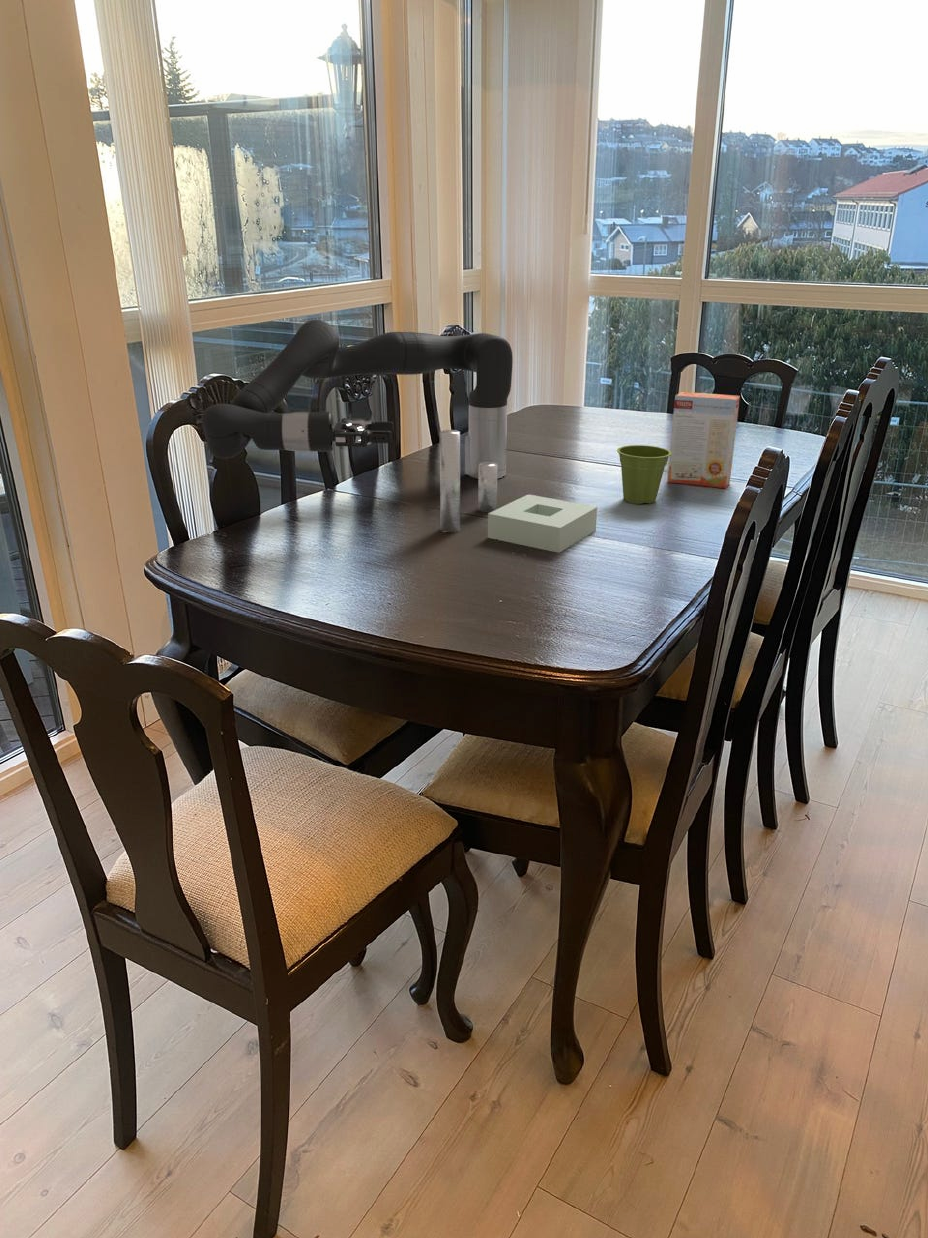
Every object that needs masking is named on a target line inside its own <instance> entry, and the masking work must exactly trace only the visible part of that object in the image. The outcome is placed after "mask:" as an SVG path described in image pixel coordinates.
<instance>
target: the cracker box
mask: <svg viewBox="0 0 928 1238" xmlns="http://www.w3.org/2000/svg"><path fill="white" fill-rule="evenodd" d="M740 398H741V396H740V395H733V394H732V395H731V394H719V393H705V392H691V391H690V392H689V391H688V392H687V391H680V392H679V393H677V394H675V397H674V404H673V405H674V407H673V414H672V416H673V417H672V426H671V435H670V436H671V438H670V446H669V447H670V449H669V451H671V453H672V454H671V455H670V456H669V457H668V469H667V470H668V471H667V482H668V483H673V484H674V483H675V484H682V485H692V486H701V487H710V488H718V489H726V488H727V487H728V485H729V484H730V483H731V474H732V467H733V459H734V458H733V457H734V452H735V451H734V450H735V441H736V434H737V433H736V432H737V425H738V416H739V407H740Z"/></svg>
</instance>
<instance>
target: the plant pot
mask: <svg viewBox="0 0 928 1238" xmlns="http://www.w3.org/2000/svg"><path fill="white" fill-rule="evenodd" d="M616 451H617V453H618V455H619V456H618V457H619V463H620V468H621V481H622V496H623V500H625V502H628V503H630V504H631V503H632V504H635V505H642V504H645V503H646V504H649V505H650V504H652V503H654V502H655V503H656V500H657V497H658V495H659V494H658V493H659V490H660V486H661V484H662V483H661V482H662V479H663V475H664V472H665V467H666V465H667V463H668V462H669V457H670V455H671V454H672V453H671V451H670V449H667V448H664V447H660V446H654V445H643V444H635V445H634V444H632V445H631V444H630V445H623V446H620V447H617V449H616Z"/></svg>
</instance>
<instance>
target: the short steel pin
mask: <svg viewBox="0 0 928 1238" xmlns="http://www.w3.org/2000/svg"><path fill="white" fill-rule="evenodd" d="M477 487H478V494H477V495H478V498H477V499H478V500H477V501H478V503H477V505H478V507H477V508H478V511H479V512H482V513H490V512H492V511H495V510H497V509H498V508H497V504H498V502H497V501H498V478H497V463H493V462H482V463H479V479H478V486H477Z"/></svg>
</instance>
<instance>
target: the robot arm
mask: <svg viewBox="0 0 928 1238" xmlns="http://www.w3.org/2000/svg"><path fill="white" fill-rule="evenodd" d="M513 360H514V359H513V350H512V347H511V344H510V343H509V342H508V340H507V339H506V338H504V337H503V336H498V335H495V334H490V333H486V332H485V333H484V332H480V333H470V334H463V335H453V336H452V335H451V336H449V335H439V334H432V333H426V332H415V331H390V332H385V333H381V334H379V335H377V336H374V337H371V338H370V339H366V340H364V341H361V342H360V343H358V344H354V345H347V346H340V336H339V333H338V331H337V329H336V328H335V327H334V326H333V325H331V324H330V323H329V322H326V321H325V320H324V321H323V320H319V319H314V320H313V319H312V320H308V321H306V322H304V323H302V325H301V326H300V327H299V328H298V330H297V331H296V333H295V334H294V335H293V337H292V338H291V340H290V341H289V342H288V343H287V345H286V346H285V347H284V348H283V350H282V351H281V352H280V353H279V354H278V355H277V356H276V357H275V358H274V359H273V360H272V362H270V363H269V364H268V365H267V366H266V367H265V368H264V369H263V370H262V371H261V372H260V373H259V374H258V375H257V376H255V377H254V378H253V379H252V380H251V381H250V382H248V383H247V384H246V385H245V386H244V387H243V388H242V389H241V390H239V392H238V393H236V394H235V395H234V396H233V398H232V400H231V404H230V403H229V404H228V403H216V404H213V405H211V406H208V407H207V408H206V409H204V411H203V412H202V414H201V419H200V420H201V425H202V429H203V432H204V436H205V441H206V444H207V448H208V450H209V452H210V453H211V455H212V456H214V457H216V458H218V459H224V460H227V459H232V458H233V457H236V456H238V455H239V454H240V453H242V452H243V451H244V450H245V448H247V446H248V445H249V442H251V440H252V441H253V444H255V446H256V448H258V450H263V451H264V450H265V451H292V452H329V453H331V452H333V450H334V449H335V447H363V448H366V447H368V445H369V446H370V445H371V444H390V443H391V442H392V434H393V432H394V422H392V421H374V420H373V419H372V418H369V417H367V418H366V417H365V418H360V417H359V418H346V417H344V418H341V422H335V419H334V418H335V417H334V415H333V413H332V412H331V411H294V412H293V411H292V412H282V413H281V412H274V411H275V409H277V408H278V407H279V406H280V405H281V404H282V402H283V401H284V400H285V398H286V397H287V396H288V395H289V393H290V391H291V390H292V389H293V387H294V386H295V385H296V383H297V382H298V380H299V379H300V378H301V377H302V376H303V377H305V378H308V379H328V378H329V379H331V378H339V377H348V376H360V375H361V376H363V375H367V376H369V375H396V376H397V375H398V376H399V375H402V376H405V375H406V376H407V375H408V376H411V375H413V376H414V375H421V374H426V373H431V372H435V371H439V370H444V369H449V370H450V369H452V370H453V369H454V370H463V371H468V372H474V373H476V383H475V388H474V389H473V390H471V391H470V392H469V393H468V434H467V435H465V436H464V437H465V439H464V475H466V474H467V475H468V476H469V477H470V478H473V479H478V480H479V463H482V462H493V463H497V479H500V478H503V476H504V477H505V476H506V475H507V473H506V470H507V439H508V437H507V434H508V433H507V432H508V429H507V427H508V398H509V395H510V393H511V389H512V380H513V379H512V377H513Z"/></svg>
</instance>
